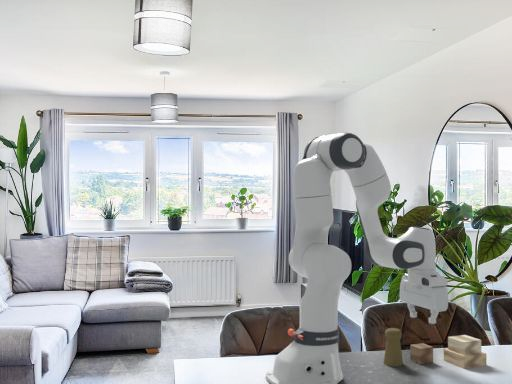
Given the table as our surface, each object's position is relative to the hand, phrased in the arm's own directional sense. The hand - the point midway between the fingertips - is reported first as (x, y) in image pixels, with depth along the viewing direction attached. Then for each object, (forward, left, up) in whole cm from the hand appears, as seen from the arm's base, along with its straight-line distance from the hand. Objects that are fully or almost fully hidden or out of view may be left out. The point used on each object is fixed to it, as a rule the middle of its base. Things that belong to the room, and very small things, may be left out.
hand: (422, 320), depth 177 cm
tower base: (+11, -6, -13) cm, 19 cm away
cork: (-11, +1, -13) cm, 17 cm away
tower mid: (+11, -6, -9) cm, 16 cm away
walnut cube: (-1, 0, -13) cm, 13 cm away
